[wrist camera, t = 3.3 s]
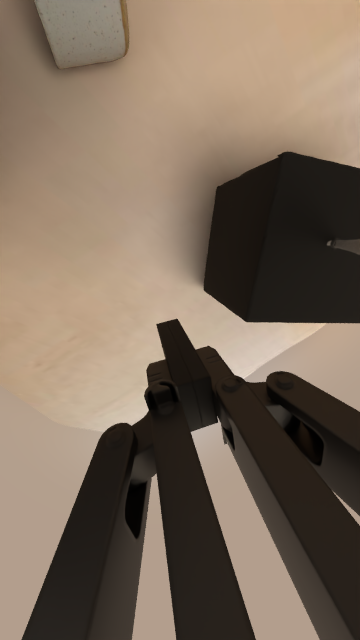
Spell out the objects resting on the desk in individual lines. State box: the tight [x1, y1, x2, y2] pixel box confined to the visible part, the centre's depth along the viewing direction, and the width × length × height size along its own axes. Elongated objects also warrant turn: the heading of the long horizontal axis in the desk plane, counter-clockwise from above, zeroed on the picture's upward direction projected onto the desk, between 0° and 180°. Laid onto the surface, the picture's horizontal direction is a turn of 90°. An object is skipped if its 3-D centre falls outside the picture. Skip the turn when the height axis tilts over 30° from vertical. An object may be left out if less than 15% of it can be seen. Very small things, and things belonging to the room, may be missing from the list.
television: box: [204, 152, 360, 323], centre depth 26 cm, size 23×30×21 cm
